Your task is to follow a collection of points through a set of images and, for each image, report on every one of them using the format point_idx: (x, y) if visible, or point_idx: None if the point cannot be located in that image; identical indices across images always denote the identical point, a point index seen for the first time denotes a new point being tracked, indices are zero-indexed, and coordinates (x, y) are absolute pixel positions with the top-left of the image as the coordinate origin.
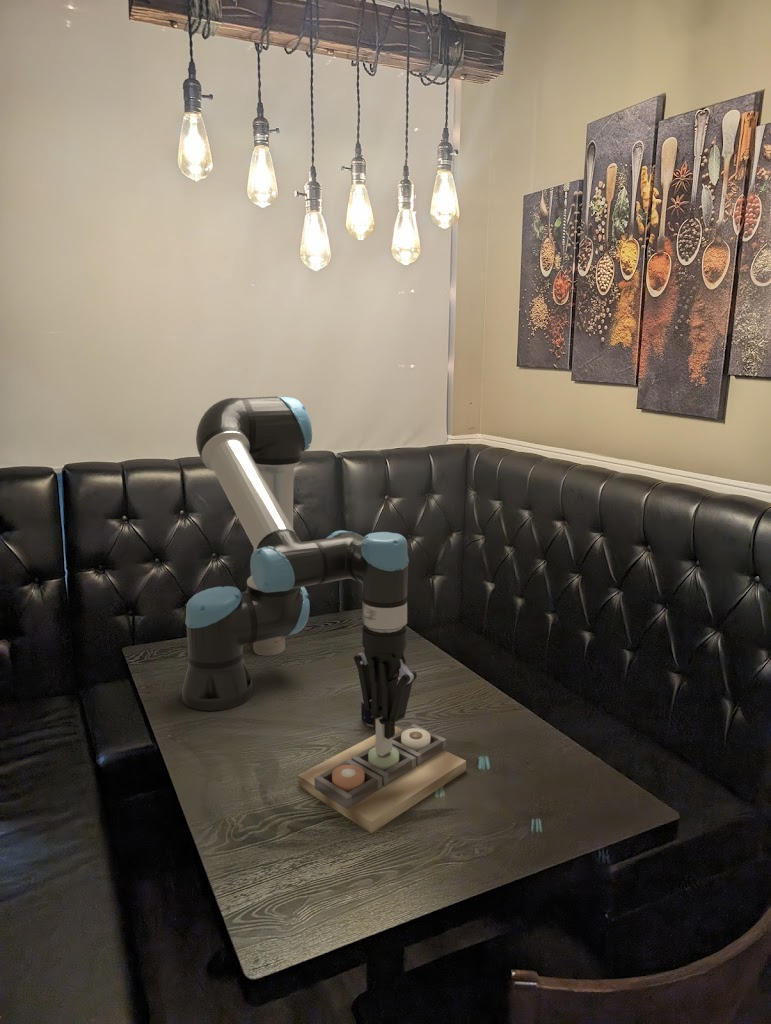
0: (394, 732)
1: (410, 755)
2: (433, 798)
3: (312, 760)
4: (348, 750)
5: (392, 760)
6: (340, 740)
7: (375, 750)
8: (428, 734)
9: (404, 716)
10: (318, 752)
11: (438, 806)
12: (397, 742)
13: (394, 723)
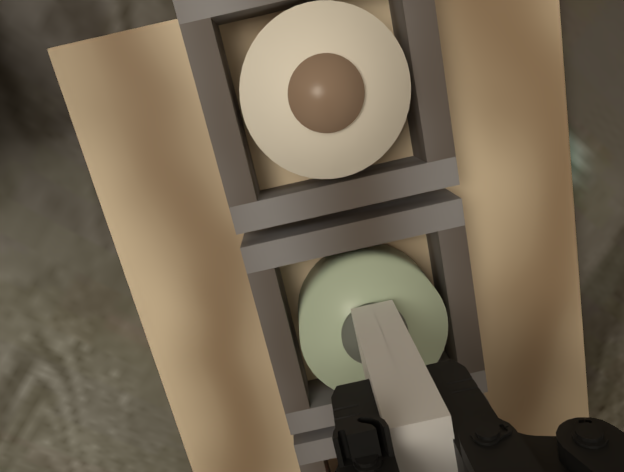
0: (470, 376)
1: (433, 211)
2: (573, 198)
3: (108, 441)
4: (165, 357)
5: (443, 327)
6: (13, 291)
7: (327, 350)
8: (354, 16)
9: (613, 426)
10: (64, 402)
11: (619, 212)
12: (296, 197)
13: (496, 417)
